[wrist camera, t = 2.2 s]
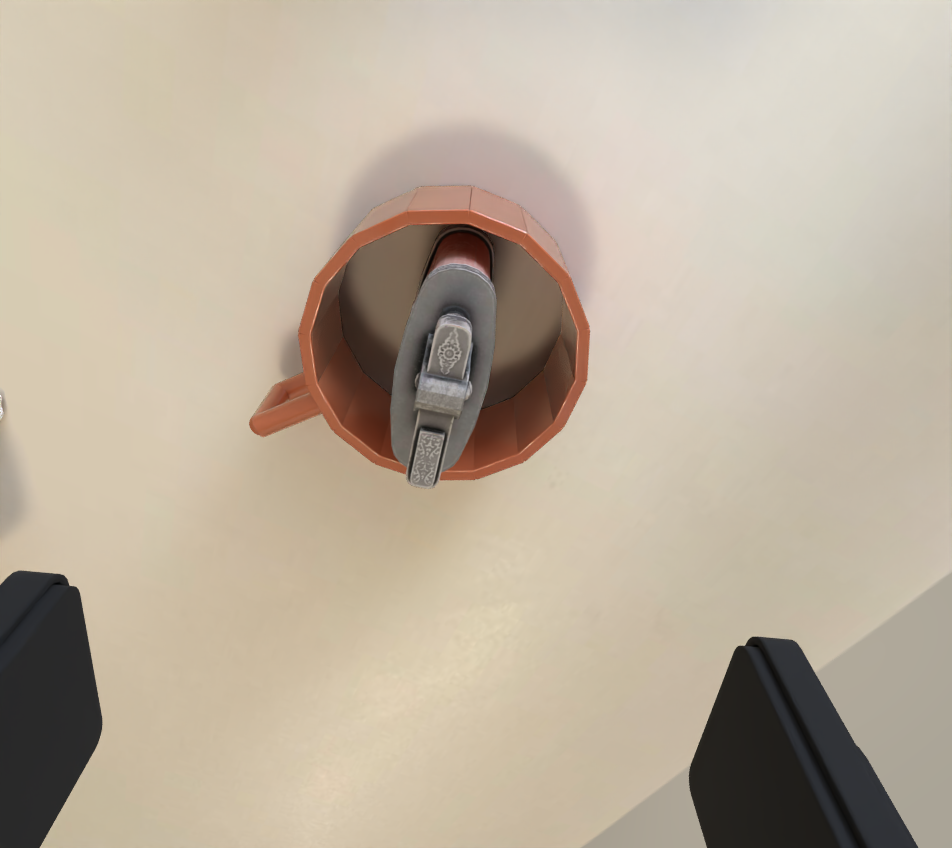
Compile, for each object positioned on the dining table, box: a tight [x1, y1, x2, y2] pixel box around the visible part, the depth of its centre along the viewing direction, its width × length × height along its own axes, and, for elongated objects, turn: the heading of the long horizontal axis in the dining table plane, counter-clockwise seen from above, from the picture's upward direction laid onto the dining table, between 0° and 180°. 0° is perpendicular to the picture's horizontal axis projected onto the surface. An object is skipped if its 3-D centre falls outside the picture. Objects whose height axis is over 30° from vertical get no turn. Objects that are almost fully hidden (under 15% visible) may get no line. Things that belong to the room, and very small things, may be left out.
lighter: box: [390, 224, 497, 489], centre depth 27 cm, size 8×3×10 cm, turn 167°
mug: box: [249, 185, 590, 480], centre depth 29 cm, size 14×11×6 cm
